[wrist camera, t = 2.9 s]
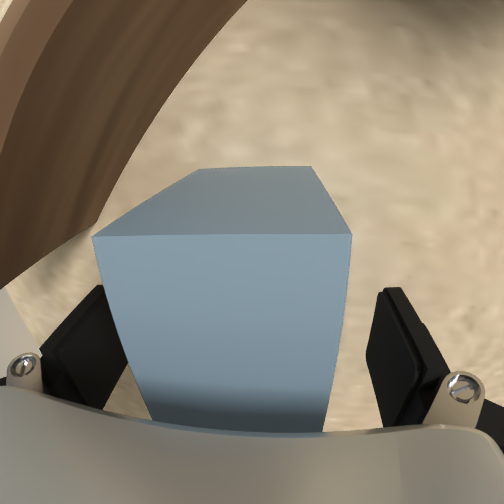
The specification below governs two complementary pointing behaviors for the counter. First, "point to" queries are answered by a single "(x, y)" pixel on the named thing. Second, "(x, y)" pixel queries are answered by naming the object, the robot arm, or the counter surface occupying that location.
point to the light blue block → (231, 297)
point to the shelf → (83, 106)
